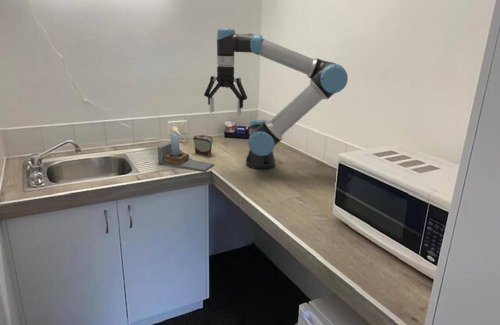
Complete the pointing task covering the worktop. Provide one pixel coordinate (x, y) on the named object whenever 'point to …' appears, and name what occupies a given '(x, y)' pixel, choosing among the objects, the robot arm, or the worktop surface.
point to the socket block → (176, 158)
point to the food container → (203, 145)
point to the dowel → (175, 145)
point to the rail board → (188, 164)
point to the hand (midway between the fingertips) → (225, 113)
